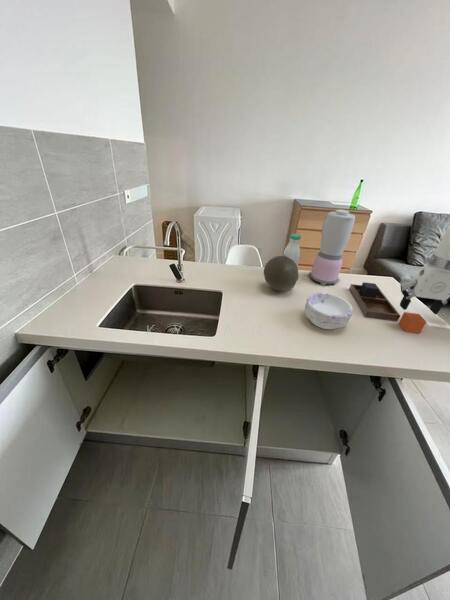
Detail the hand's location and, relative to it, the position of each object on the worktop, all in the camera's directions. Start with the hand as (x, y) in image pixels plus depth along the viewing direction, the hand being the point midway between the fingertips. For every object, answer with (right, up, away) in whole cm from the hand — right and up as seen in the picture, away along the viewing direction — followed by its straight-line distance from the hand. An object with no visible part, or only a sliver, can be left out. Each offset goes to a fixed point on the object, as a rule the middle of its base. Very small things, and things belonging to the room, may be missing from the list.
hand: (417, 309), depth 83 cm
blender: (-19, +14, +36) cm, 43 cm away
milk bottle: (-35, +16, +38) cm, 54 cm away
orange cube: (0, -7, +4) cm, 8 cm away
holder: (-5, +2, +18) cm, 19 cm away
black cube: (-4, +5, +22) cm, 23 cm away
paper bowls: (-30, -5, +5) cm, 31 cm away
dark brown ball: (-42, +8, +24) cm, 49 cm away
